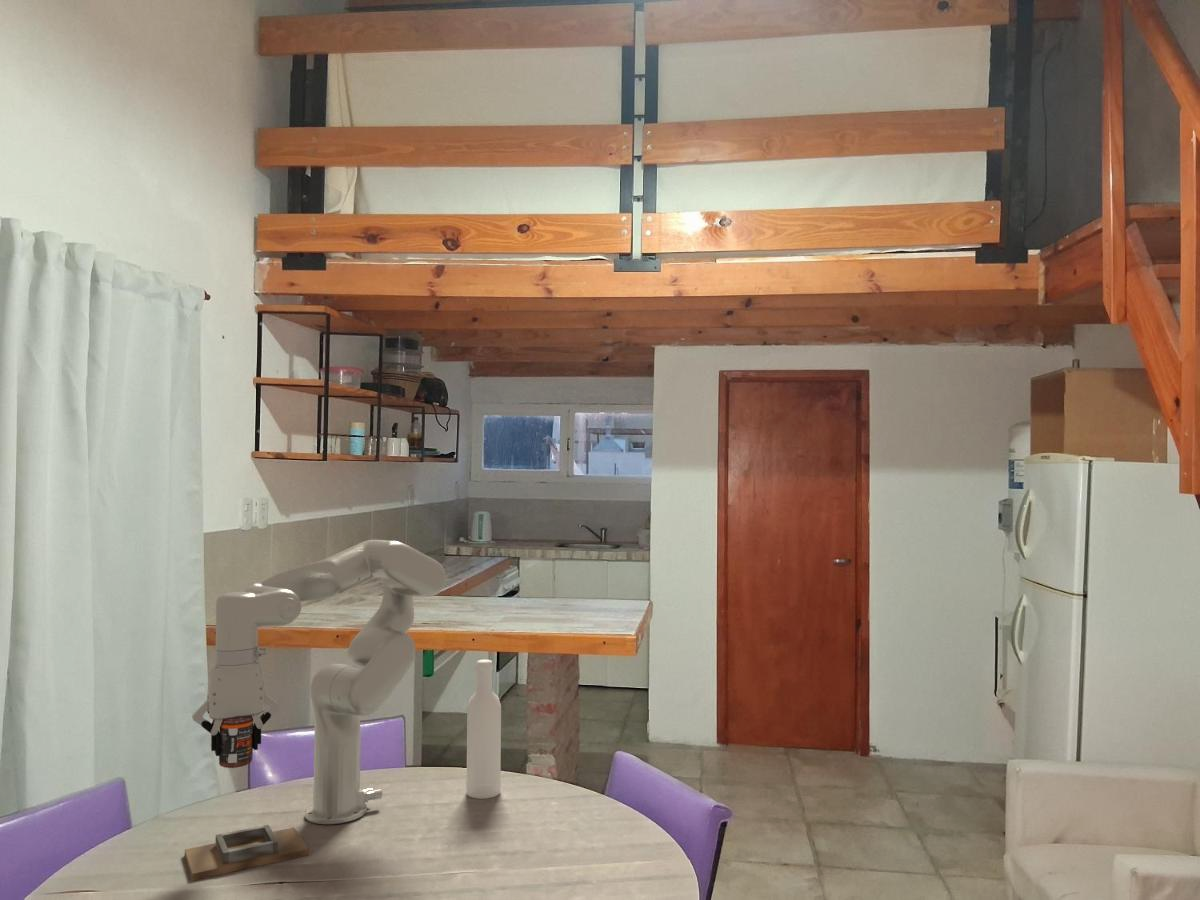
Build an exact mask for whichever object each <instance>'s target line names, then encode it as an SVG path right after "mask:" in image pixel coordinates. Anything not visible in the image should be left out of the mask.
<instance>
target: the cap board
mask: <svg viewBox="0 0 1200 900" xmlns="http://www.w3.org/2000/svg"><path fill="white" fill-rule="evenodd" d="M307 856H309V847H308V846H307V845H306V843H305V842H304V840H303V838H302V837H301V835H300V834H299V832H298V831H297V829H296V827H288V828H284V829H279V830H274V831H273V830H272V828H271V827H270V825H269V824H264V825H261V826H254V827H250V828H249V827H248V828H245V829H239V830H234V831H230V832H224V833H219V834H215V843H210V844H205V845H200V846H195V847H191V848H186V849H184V858H185V862H186V865H187V869H188V871H189V875H190V878H191V881H198V880H201V879H205V878H206V879H207V878H211V877H215V876H219V875H224V874H229V873H233V872H238V871H242V870H246V869H252V868H255V867H260V866H265V865H270V864H275V863H279V862H283V861H289V860H292V859H297V858H301V857H307Z"/></svg>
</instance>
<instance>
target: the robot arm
mask: <svg viewBox="0 0 1200 900" xmlns="http://www.w3.org/2000/svg"><path fill="white" fill-rule="evenodd" d="M378 578H379V579H381V585H382V600H381V604H380V606H379V608H378V609H377V611H376V612H375V613H374V614H373V616H372V617H371V618H370V619H369V620H368V621H367V622H366V624H365V625H364V626H363V627H362V628H361V629H360V631H359V632H358V633H356V635H355V636H354V638H353V639H352V640H351V642H350V644H349V646H348V649H347V658H348V660H349V662H350V663H351V664H352V665H350V664H344V663H330V664H327V665H324V666H323V667H321V668H320V669H319V670H317V672H316V673H315V675H313V677H312V681H311V683H310V699H311V706H312V711H313V719H314V723H313V724H314V741H313V744H314V745H313V746H314V748H313V750H314V751H313V794H312V795H313V799H312V800H313V802H312V803H313V804H311V805H310V806H309V807H307V809H306V810H305V814H304V816H305V819H306V820H307V821H308V822H311V823H312V824H319V825H337V824H344V823H349V822H352V821H355V820H358V819H359V818H361V817H363V816H364V815H365V814H366V812H368V811H367V810H368V804H367V803H368V801H372V800H373V801H376V800H381V799H382V798H383V791H382V789H381V788H379V789H374V790H373V788H372V787H371V788H366V789H362V788H361V739H362V730H361V721H360V716H361V717H365V716H370V715H373V714H374V713H376V712H377V711H379V709H380V708H381V707H382V706H383V705H384V704H385V703H386V702H387V700H388V699H389V698H390V696H392V694H393V693H394V692H395V690H396V689H397V687H399V685H400V683H401V682H402V681H403V679H404V678H405V677H406V675H407V674H408V673H410V670H411V668H412V667H413V664H414V661H415V659H416V651H417V650H416V644H415V640H414V639H413V638H412V636H410V635H409V634H408V632H409V630H410V629H411V627H412V625H413V623H414V619H415V608H414V596H415V597H422V598H423V597H424V598H429V597H434V596H437V595H438V594H439V593H441V592H442V590H443V589H444V587H445V585H446V580H447V576H446V570H445V568H444V567H443V565H442V563H440V562H439V561H437V559H435V558H433V557H430V556H429V555H427V554H425V553H423V552H421V551H419V550H417V549H416V548H413V547H411V546H410V545H408V544H406V543H403V542H400V541H398V540H385V539H369V540H365V541H361V542H359V543H357V544H355V545H353V546H351V547H348V548H346V549H344V550H342V551H340V552H337V553H335V554H333V555H331V556H328V557H326V558H324V559H321V560H319V561H316V562H311V563H307V564H305V565H301V566H298V567H295V568H292V569H288V570H283V571H281V572H279V573H276V574H273V575H270V576H268V577H266V578H263V579H262V580H261V579H260V580H258V581H257V582H255V583H253V584H251V585H249V586H248V587H246V588H244V590H243V591H232V592H226V593H222V594H220V595H219V596H218V597H217V598H216V602H215V664H212V665H211V666H210V671H209V677H208V683H207V696H206V697H207V699H206V700H205V701H204V702H203V704H202V705H200V707H199V708H197V710H195V712H194V713H193V714H192V716H191V717H192V720H193V721H194V722H195V723H197V724H198V725H199V726H200V727H202V728H203V729H204V730H206V732H208V733H210V734H211V735H210V737H211V738H210V740H211V743H210V746H211V748H210V750H211V752H214V754H215V757H219V755H220V725H221V723H222V720H223V719H229V718H233V717H236V716H252V718H253V750H254V751H258V749H259V745H261V744H262V728H264V725H265V724H266V723H267V722H268V721H269V719H271V717H272V716H273V715H274V714H275V713H276V712H277V710H279V708H280V705H279V703H278V702H276V701H275V700H274V699H273V698H272V697H271V696H269V694H267V693H266V687H265V678H264V668H263V665H262V661H261V660H259V658H260V657H262V656H266V655H267V654H266V652H267V650H266V648H264V647H263V648H262V647H260V646H259V628H269V627H270V628H271V627H272V628H273V627H275V628H276V627H284V626H287V625H290V624H292V623H293V622H295V620H296V619H298V618H299V616H300V615H301V611H302V603H303V602H309V601H319V600H321V601H322V600H328V599H333V598H337V597H339V596H342V595H343V594H345V593H348V592H349V591H351V590H353V589H355V588H357V587H359V586H361V585H363V584H365V583H367V582H370V581H372V580H374V579H378ZM266 705H267V706H268V707H267V710H265V708H266ZM205 713H207V714H208V716H209V718H210V719H212V720H211V721H212V722H210V721H209V720H207V719H206V718H205V717H204V715H205ZM260 714H261V715H260Z"/></svg>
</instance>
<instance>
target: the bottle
mask: <svg viewBox="0 0 1200 900" xmlns="http://www.w3.org/2000/svg"><path fill="white" fill-rule="evenodd" d="M475 669H476V691H475V692H474V694H473V695H472V696H470V697H469V699H468V700H469V701H468V702H467V708H466V713H467V714H466V721H467V722H466V726H467V727H466V780H465V781H466V782H465V787H466V795H467V796H468V797H470V798H472V799H475V800H476V799H477V800H485V799H492V798H495V797H497V796H499V795H500V794H501V787H502V776H501V774H502V773H501V759H502V758H501V755H502V754H501V753H502V750H501V749H502V747H501V746H502V743H501V742H502V741H501V738H502V736H501V735H502V704H501V702H500V698H499V696H498V695H497V694H496V693H495V692H494V691H493V669H494V665H493V661H492V660H490V659H479V660H477V661H476V667H475Z"/></svg>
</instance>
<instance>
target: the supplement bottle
mask: <svg viewBox="0 0 1200 900" xmlns="http://www.w3.org/2000/svg"><path fill="white" fill-rule="evenodd" d="M253 724H254V721H253V718H252V716H236V717H233V718H229V719H223V720H222V723H221V725H220V728H219V733H220V755H219V756H218V764H219V766H220V767H223V768H226V769H235V768H241V767H245V766H247V765H249V764H250V763H252V760H253V750H254V749H253Z"/></svg>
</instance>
